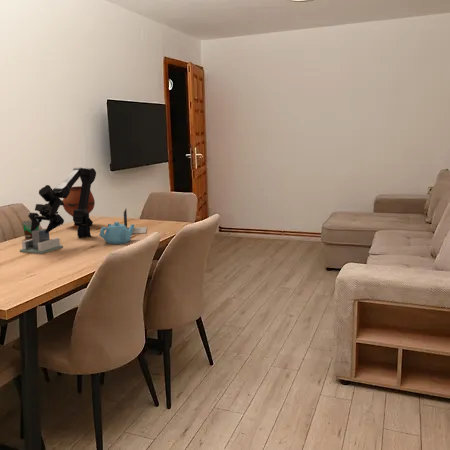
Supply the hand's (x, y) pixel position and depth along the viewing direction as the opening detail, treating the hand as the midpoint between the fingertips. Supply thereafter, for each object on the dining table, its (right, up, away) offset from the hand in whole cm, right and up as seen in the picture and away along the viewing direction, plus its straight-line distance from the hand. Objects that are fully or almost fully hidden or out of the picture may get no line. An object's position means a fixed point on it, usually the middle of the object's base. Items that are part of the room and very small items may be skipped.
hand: (38, 232), depth 238 cm
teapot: (+36, -6, +19) cm, 41 cm away
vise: (+1, -9, +3) cm, 9 cm away
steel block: (+1, -8, +3) cm, 8 cm away
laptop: (+40, 0, +48) cm, 63 cm away
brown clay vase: (+1, +3, +64) cm, 65 cm away
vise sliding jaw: (-5, -7, +5) cm, 10 cm away
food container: (-15, -3, +34) cm, 38 cm away
